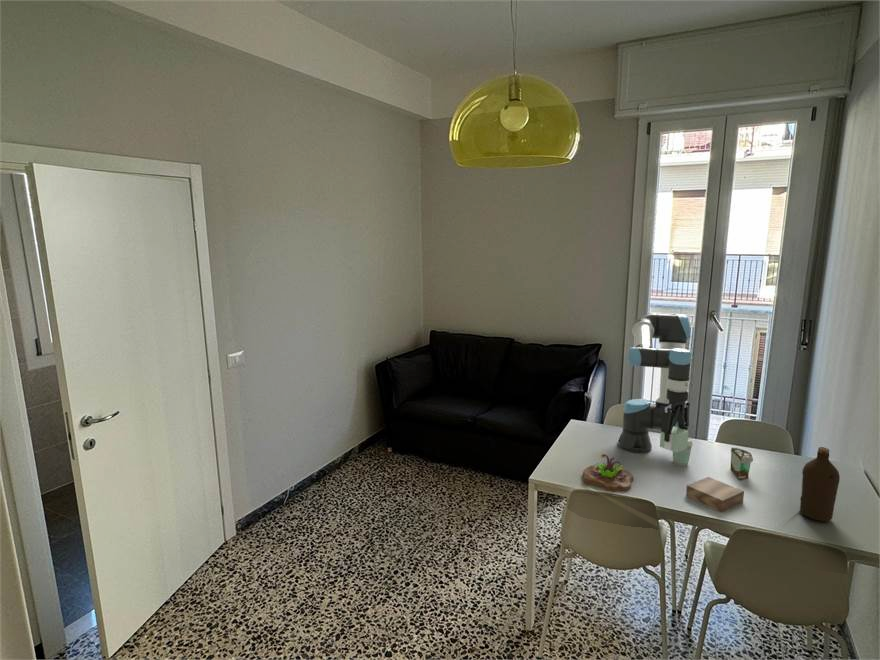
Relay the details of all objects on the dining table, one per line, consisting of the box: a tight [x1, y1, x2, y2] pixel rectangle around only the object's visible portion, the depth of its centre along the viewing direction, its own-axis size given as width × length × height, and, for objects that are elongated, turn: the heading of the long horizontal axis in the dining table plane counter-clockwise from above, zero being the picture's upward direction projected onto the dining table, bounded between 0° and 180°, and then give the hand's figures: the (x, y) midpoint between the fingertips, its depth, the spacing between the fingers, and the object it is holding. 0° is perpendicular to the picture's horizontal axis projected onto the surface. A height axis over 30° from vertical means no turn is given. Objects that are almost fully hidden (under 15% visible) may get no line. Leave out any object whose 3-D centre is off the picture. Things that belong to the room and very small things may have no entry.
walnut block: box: [685, 476, 745, 513], centre depth 192 cm, size 14×14×5 cm
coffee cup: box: [672, 437, 694, 467], centre depth 222 cm, size 8×8×12 cm
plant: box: [582, 454, 634, 492], centre depth 209 cm, size 20×20×11 cm
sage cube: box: [659, 426, 690, 453], centre depth 194 cm, size 7×7×7 cm
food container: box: [730, 447, 754, 481], centre depth 211 cm, size 12×6×10 cm, turn 168°
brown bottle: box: [799, 446, 840, 522], centre depth 179 cm, size 11×11×25 cm
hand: (673, 446), depth 194 cm, fingers closed on sage cube, 7 cm apart
